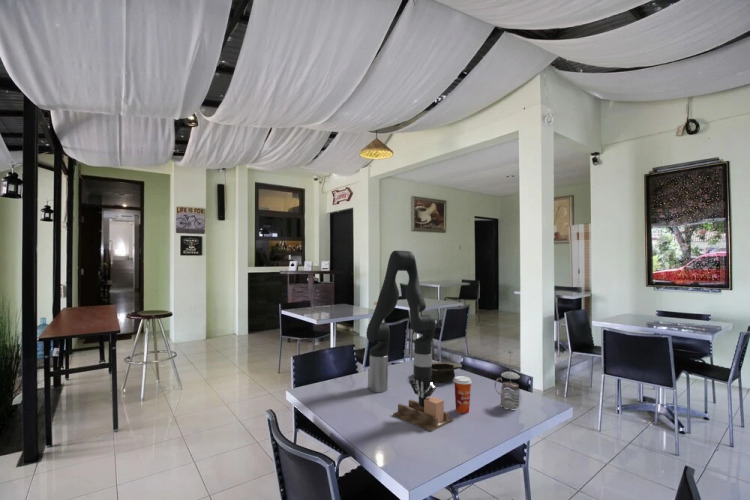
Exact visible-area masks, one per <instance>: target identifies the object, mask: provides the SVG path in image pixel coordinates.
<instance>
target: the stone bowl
mask: <svg viewBox="0 0 750 500" xmlns="http://www.w3.org/2000/svg"><path fill="white" fill-rule="evenodd" d="M462 367H463V366H462V365H459V364H456V363H452V362H438V361H437V362H433V361H432V376H431V380H432V383H434V384H435V383H437V384H439V383H444V382H445V383H446V382H447V383H448V382H449V381H450V380H454V379H455V377H456V374H455V373H456V372H455V370H459V369H460V368H462Z"/></svg>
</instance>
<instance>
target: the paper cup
mask: <svg viewBox="0 0 750 500" xmlns="http://www.w3.org/2000/svg"><path fill="white" fill-rule="evenodd" d="M453 382H454V398H455V399H454V400H455V411H456V413H459V414H468V413H469V412H470V407H471V406H470V405H471V404H470V403H471V389H472V388H471V387H472V379H471V378H470V377H468V376H463V375H460V376H459V375H458V376H455V377H454V379H453Z"/></svg>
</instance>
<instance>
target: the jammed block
mask: <svg viewBox="0 0 750 500" xmlns="http://www.w3.org/2000/svg"><path fill="white" fill-rule="evenodd" d="M444 401H445V400H443V399H441V398H437V397H435V396H432V395H431V396H429V397H427V398H426V399H424V413H426V414H429V415H431V416H434V417H437V418H438V423H440V422H442V421H444V412H445V411H444V409H445V408H444V404H445V402H444Z"/></svg>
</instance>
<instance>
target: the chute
mask: <svg viewBox="0 0 750 500" xmlns="http://www.w3.org/2000/svg"><path fill="white" fill-rule="evenodd" d="M392 414H393V415H392V416H393V417H396V418H398V419H400V420H402V421H405V422H408V423H410V424H413V425H415V426H417V427H420V428H422V429H424V430H426V431H429V432H434V431H436V430H437V429H440V428H442V427H444V426H445V425H448V424H450V423H452V422H453V420H454V419H453V418H451V417H449V412H446V411H444V421H442V422H440V423H438V418H437V417H434V416H431V415H429V414H426V413H424V407H422V406H419V401H416V400H414V399H408V406H407V405H405V404H402V403H398V404H397V411H396V412H394V413H392Z"/></svg>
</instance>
